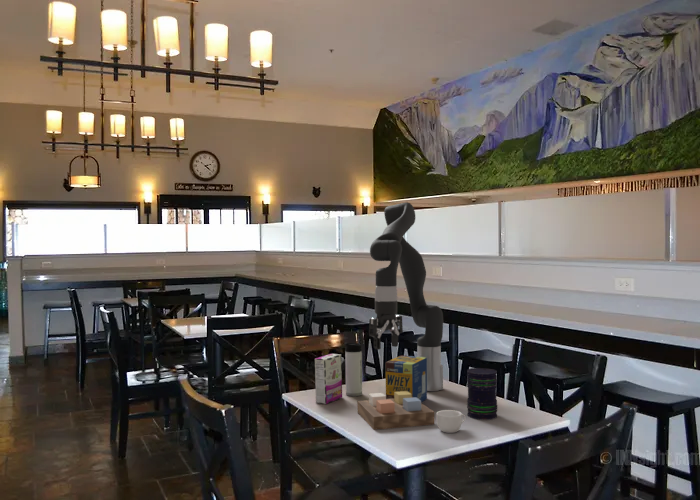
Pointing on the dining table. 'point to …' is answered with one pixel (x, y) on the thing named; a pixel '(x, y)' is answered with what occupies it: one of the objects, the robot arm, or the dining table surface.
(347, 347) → the travel mug
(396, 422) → the brown flat wooden block
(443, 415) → the teacup
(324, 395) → the candy bar box
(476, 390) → the storage jar
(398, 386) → the protein box
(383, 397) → the white block
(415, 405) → the light blue block
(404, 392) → the ochre key
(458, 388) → the dining table surface
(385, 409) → the terracotta key
